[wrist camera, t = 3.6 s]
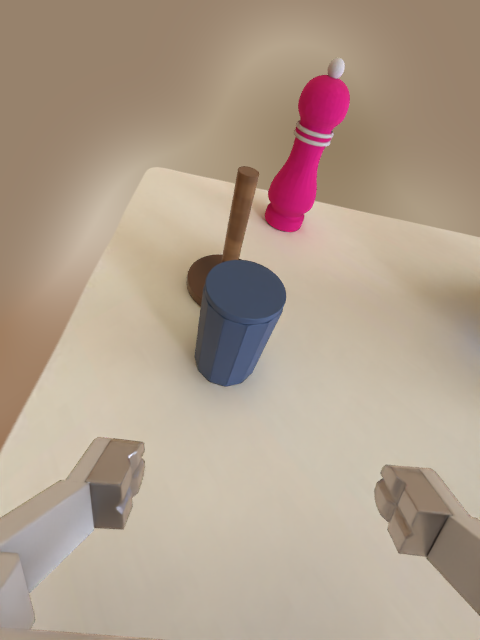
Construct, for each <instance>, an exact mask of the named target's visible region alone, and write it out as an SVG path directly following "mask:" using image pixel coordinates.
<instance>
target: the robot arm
mask: <svg viewBox="0 0 480 640" xmlns="http://www.w3.org/2000/svg"><path fill="white" fill-rule="evenodd" d="M144 451H145V448H144V443H143V442H139V441H131V440H123V439H115V438H113V439H112V438H104V437H97V438H96V439H94V440H93V442H92V443H91V444H90V446H89V447H88V449H87V450H86V451H85V453H84V454H83V456H82V457H81V459H80V460H79V461H78V463H77V464H76V466H75V467H74V469H73V470H72V471H71V473H70V474H69V476H68V477H67V479H66V480H60V481H58V482H56V483H55V484H53V485H52V486H50V487H48V488H47V489H45V490H44V491H42V492H41V493H39V494H37V495H36V496H34V497H33V498H31V499H29V500H28V501H26V502H25V503H23V504H21V505H20V506H18V507H17V508H15V509H13V510H12V511H10V512H9V513H7V514H6V515H4V516H2V517H1V518H0V640H162V639H149V638H136V637H123V636H110V635H97V634H84V633H71V632H58V631H45V630H32V629H31V628H32V626H33V624H34V622H35V613H34V609H33V606H32V602H31V598H30V595H29V593H30V592H31V591H32V590H33V589H34V588H35V587H36V586H37V585H38V584H39V583H40V582H41V581H42V580H44V579H45V578H46V577H47V576H48V575H49V574H50V573H51V572H52V571H53V570H54V569H55V568H56V567H57V566H58V565H59V564H60V563H61V562H62V561H63V560H64V559H65V558H66V557H67V556H68V555H69V554H70V553H71V552H72V551H73V550H74V549H75V548H76V547H77V546H78V545H79V544H80V543H81V542H82V541H83V540H84V539H85V538H86V537H87V536H88V535H90V534H91V533H92V532H93V531H94V528H105V529H124V527H125V525H126V522H127V520H128V517H129V515H130V512H131V510H132V507H133V504H132V498H133V497H134V496H135V495H136V494H137V493H138V492H139V489H140V487H141V484H142V480H143V476H144V469H145V461H144V460H143V458H142V456H143V453H144ZM381 475H382V477H383V479H381V480H380V481H378V482H377V483H376V487H375V490H374V494H375V502H376V506H377V508H378V511H379V513H380V515H381V516H382V517H383V518H384V519H385V520H386V521H387V522H389V523H388V529H387V530H388V532H389V534H390V536H391V538H392V540H393V542H394V544H395V547H396V549H397V551H398V553H400V554H408V555H417V556H425V557H427V559H428V561H429V562H430V563H431V564H432V565H433V566H434V567H435V568H436V569H437V570H438V571H439V572H440V574H441V575H442V576H443V577H444V578H445V579H446V580H447V581H448V582H449V583H450V584H451V585H452V586H453V588H454V589H455V590H456V591H457V592H458V593H459V594H460V595H461V596H462V597H463V598H464V599H465V601H466V602H467V603H468V604H469V605H470V606H471V607H472V608H473V609H474V610H475V611H476V612H477V613H478V615H479V616H480V520H478V519H477V518H473V517H471V516H470V515H469V514H468V512H467V511H466V510H465V509H464V507H463V506H462V505H461V504H460V502H459V501H458V500H457V498H456V497H455V496H454V495H453V493H452V492H451V491H450V490H449V488H448V487H447V486H446V484H445V483H444V482H443V481H442V479H441V478H440V477H439V475H438V474H437V473H436V472H435V471H434V470H432V469H431V468H419V467H408V466H396V465H385V466H384V467H383V468H382V470H381Z"/></svg>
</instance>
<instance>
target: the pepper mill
mask: <svg viewBox="0 0 480 640" xmlns="http://www.w3.org/2000/svg"><path fill="white" fill-rule="evenodd" d="M343 71H344V62H343V60H342V59H341V58H335V59H333V60H332V61H331V63H330V64H329V67H328V75H321V76H317V77H315V78H313V79H312V80H310V81H309V82H308V83H307V85H306V86H305V87H304V89H303V91H302V93H301V96H300V99H299V104H298V109H299V114H300V117H301V119H300V121H298V122H297V123H296V126H297V127H296V129H295V130H294V135H295V136H296V137H295V141H294V145H293V148H292V151H291V154H290V156H289V158H288V160H287V162H286V163H285V165H284V166H283V167H282V169H281V170H280V171H279V172H278V174H277V175H276V176H275V178H274V179H273V181H272V183H271V186H270V189H269V191H268V197H269V200H270V202H271V203H270V204H269V205H268V206H267V209H266V213H265V219H266V221H267V223H268V224H269V225H271V226H272V227H274V228H276V229H278V230H281V231H286V232H293V231H296V230H298V229H299V228H300V227H301V224H302V222H303V220H304V213H306V212H307V211H309V210H310V209H311V208H312V206H313V203H314V200H315V197H316V190H317V187H316V186H317V183H316V178H317V168H318V163H319V160H320V157H321V154H322V152H323V150H324V148H325V146H328V145H329V144H330V140H331V138H332V137H333V134H334V133H333V131H332V130H333V128H334V127H336V126H337V125H338V124H340V123H341V122H342V121H343V119H344V117H345V115H346V113H347V111H348V107H349V103H350V102H349V101H350V95H349V91H348V88H347V86H346V85H345V83H344V82H343V81H341V80H340V79H338V78H339V77H340V76H341V75H342V73H343Z"/></svg>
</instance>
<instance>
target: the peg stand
mask: <svg viewBox="0 0 480 640" xmlns="http://www.w3.org/2000/svg"><path fill="white" fill-rule="evenodd" d="M258 177H259V172H258V171H257V170H255V169H253V168H251V167H245V166H243V167H239V168H238V173H237V178H236V184H235V189H234V195H233V200H232V206H231V211H230V217H229V222H228V228H227V234H226V239H225V245H224V250H223V255H210V256H206V257H203V258H200V259H199V260H197V261H196V262H194V263H193V265H192V266H191V267H190V269H189V271H188V275H187V287H188V291H189V293H190V295H191V297H192V298H193V299H194V300H195V301H196V302H197V303H198V304H199V305H200V306H201V302H202V294H203V287H204V285H205V281H206V277H207V275H208V273H209V272H210V270H211V269H212V268H213V267H215V266H216V265H218V264H220V263H222V262H225V261H230V260H241V259H239V256H240V252H241V247H242V243H243V239H244V235H245V231H246V227H247V223H248V218H249V214H250V210H251V206H252V202H253V198H254V194H255V189H256V185H257V181H258Z"/></svg>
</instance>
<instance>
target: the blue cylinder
mask: <svg viewBox="0 0 480 640" xmlns="http://www.w3.org/2000/svg"><path fill="white" fill-rule="evenodd" d="M285 301H286V291H285V287H284V285H283V283H282V282H281V280H280V279H279V278H278V276H277V275H276V274H274V273H273V272H272V271H271V270H269V269H268V268H266V267H264V266H262V265H260V264H257V263H255V262H251V261H246V260H230V261H225V262H222V263H220V264H218V265H216V266H215V267H213V268H212V269H211V270H210V272H209V273H208V275H207V277H206V281H205V285H204V287H203V294H202V302H201V310H200V318H199V326H198V334H197V342H196V350H195V360H196V364H197V368H198V371H199V372H200V373H201V374H202V375H203V376H204V377H205V378H206V379H207V380H208V381H210V382H212V383H216V384H219V385H222V386H230V385H235V384H239V383H242V382H243V381H244V380H245V379H246V378H247V377H248V376H249V375H250V374H251V373H252V372H253V370H254V368H255V366H256V364H257V362H258V360H259V358H260V356H261V353H262V351H263V349H264V347H265V345H266V343H267V341H268V339H269V337H270V335H271V333H272V331H273V329H274V327H275V325H276V323H277V321H278V319H279V317H280V315H281V313H282V310H283V306H284V304H285Z"/></svg>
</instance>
